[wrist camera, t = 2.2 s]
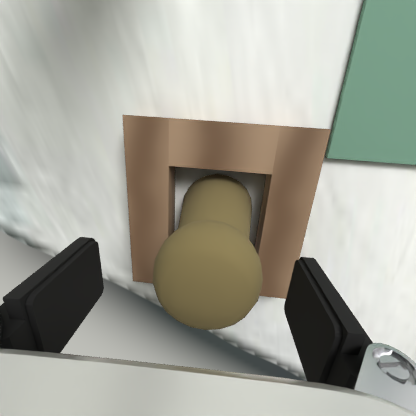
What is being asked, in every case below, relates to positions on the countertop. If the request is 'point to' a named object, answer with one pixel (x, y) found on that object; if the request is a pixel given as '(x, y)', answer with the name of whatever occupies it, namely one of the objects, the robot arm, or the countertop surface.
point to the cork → (210, 257)
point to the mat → (379, 88)
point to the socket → (229, 161)
